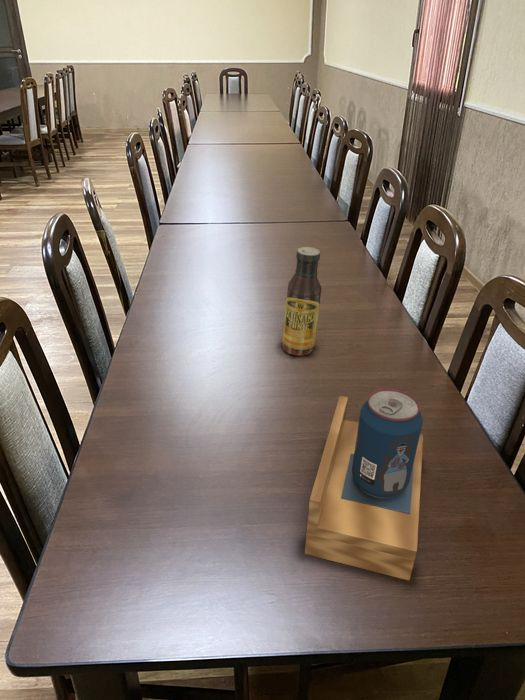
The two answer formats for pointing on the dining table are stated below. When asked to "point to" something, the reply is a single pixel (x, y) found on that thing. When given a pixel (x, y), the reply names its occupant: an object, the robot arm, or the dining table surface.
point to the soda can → (386, 442)
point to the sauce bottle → (302, 304)
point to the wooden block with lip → (361, 510)
